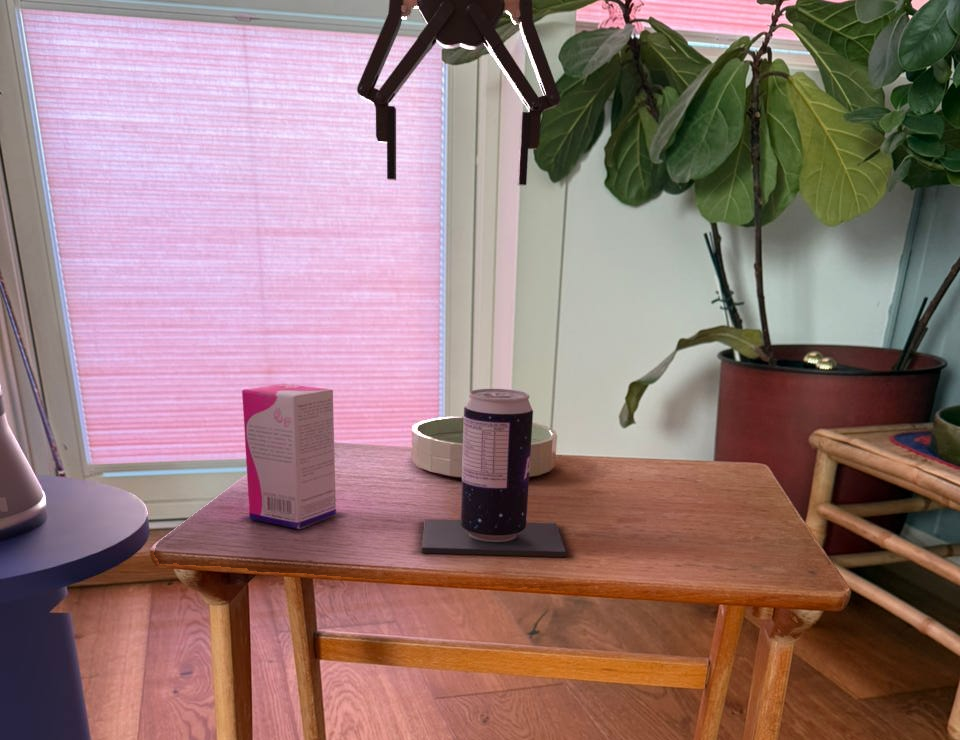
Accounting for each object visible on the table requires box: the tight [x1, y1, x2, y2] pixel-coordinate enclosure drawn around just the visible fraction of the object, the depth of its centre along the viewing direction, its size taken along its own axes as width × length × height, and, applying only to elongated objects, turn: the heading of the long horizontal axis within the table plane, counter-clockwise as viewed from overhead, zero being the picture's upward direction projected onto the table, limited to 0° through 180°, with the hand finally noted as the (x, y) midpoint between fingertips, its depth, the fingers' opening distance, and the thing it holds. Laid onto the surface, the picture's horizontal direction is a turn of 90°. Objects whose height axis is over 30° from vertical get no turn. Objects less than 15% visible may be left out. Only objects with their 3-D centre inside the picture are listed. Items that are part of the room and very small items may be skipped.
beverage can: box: [460, 388, 534, 542], centre depth 76 cm, size 6×6×12 cm
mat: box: [421, 518, 567, 558], centre depth 79 cm, size 12×8×1 cm, turn 92°
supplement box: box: [241, 383, 337, 530], centre depth 81 cm, size 6×6×12 cm
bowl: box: [411, 416, 558, 479], centre depth 103 cm, size 16×16×4 cm
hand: (456, 182), depth 95 cm, fingers open, 13 cm apart
